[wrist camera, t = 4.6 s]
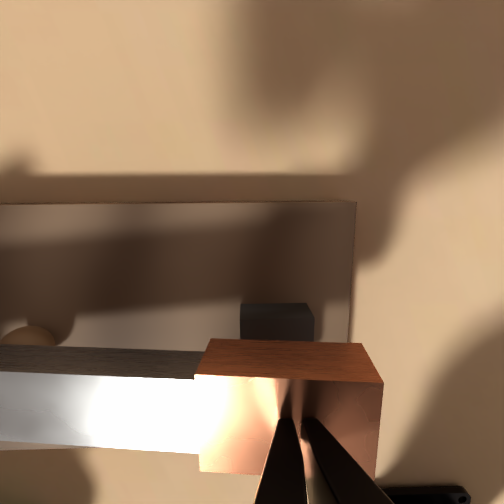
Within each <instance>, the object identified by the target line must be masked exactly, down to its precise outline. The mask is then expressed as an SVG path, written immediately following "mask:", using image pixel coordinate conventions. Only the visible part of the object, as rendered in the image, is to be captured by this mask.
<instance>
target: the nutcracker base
mask: <svg viewBox="0 0 504 504" xmlns="http://www.w3.org/2000/svg"><path fill="white" fill-rule="evenodd" d="M356 205H357V202H351V201H264V202H145V203H26V204H0V344H16V345H43V346H71V347H98V348H125V349H153V350H180V351H205V350H206V348H207V345H208V343H209V341H210V339H211V338H218V339H248V340H279V341H309V342H339V343H347V339H348V324H349V309H350V294H351V279H352V264H353V249H354V234H355V220H356ZM67 448H102V447H90V446H75V445H59V444H44V443H29V442H13V441H0V450H31V449H67Z"/></svg>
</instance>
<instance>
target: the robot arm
mask: <svg viewBox="0 0 504 504" xmlns="http://www.w3.org/2000/svg"><path fill="white" fill-rule="evenodd" d="M305 479H306V481H305ZM306 486H307V492H308V499H309V504H470V501H471V497H470V495H469V494H468V492H467V491H466V490H465V488H464V487H462V486H443V487H412V488H380V487H379V486H378V485H377V484H376V483H375V482H374V481H373V479H372V478H371V477H370V476H369V475H368V474H367V473H366V472H365V471H364V469H363V468H362V467H361V466H360V465H359V464H358V463H357V462H356V461H355V460H354V458H353V457H352V456H351V455H350V454H349V453H348V452H347V451H346V450H345V448H344V447H343V446H342V445H341V444H340V443H339V442H338V441H337V440H336V438H335V437H334V436H333V435H332V434H331V433H330V432H329V431H328V430H327V428H326V427H325V426H324V425H323V424H322V423H321V422H320V421H319V420H318V419H317V418H303V419H302V425H301V447H300V443H299V439H298V436H297V432H296V428H295V424H294V421H293V419H291V418H282V419H279V420H278V421H277V425H276V428H275V432H274V435H273V438H272V442H271V445H270V449H269V452H268V455H267V459H266V462H265V466H264V469H263V472H262V476H261V479H260V482H259V486H258V489H257V493H256V496H255V499H254V503H253V504H307V493H306Z"/></svg>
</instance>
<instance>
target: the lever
mask: <svg viewBox="0 0 504 504" xmlns="http://www.w3.org/2000/svg"><path fill="white" fill-rule="evenodd" d="M383 387H384V382H383V380H382V379H381V377H380V375H379V373H378V372H377V370H376V368H375V366H374V365H373V363H372V361H371V359H370V357H369V356H368V354H367V352H366V350H365V349H364V347H363V345H362V343H339V342H309V341H279V340H248V339H218V338H211V339H210V341H209V343H208V345H207V348H206V350H205V351H180V350H153V349H125V348H98V347H71V346H43V345H16V344H0V441H13V442H29V443H44V444H59V445H75V446H90V447H106V448H121V449H137V450H152V451H168V452H183V453H198V454H199V463H200V471H206V472H221V473H235V474H249V475H262V472H263V469H264V466H265V462H266V459H267V455H268V452H269V449H270V445H271V442H272V438H273V435H274V432H275V428H276V425H277V421H278V420H279V419H282V418H291V419H293V421H294V424H295V428H296V432H297V436H298V439H299V443H300V447H301V425H302V419H303V418H317V419H318V420H319V421H320V422H321V423H322V424H323V425H324V426H325V427H326V428H327V430H328V431H329V432H330V433H331V434H332V435H333V436H334V437H335V438H336V440H337V441H338V442H339V443H340V444H341V445H342V446H343V447H344V448H345V450H346V451H347V452H348V453H349V454H350V455H351V456H352V457H353V458H354V460H355V461H356V462H357V463H358V464H359V465H360V466H361V467H362V468H363V469H364V471H365V472H366V473H367V474H368V475H369V476H370V477H371V478H372V479H373V481H374V478H375V468H376V458H377V448H378V438H379V427H380V417H381V407H382V397H383Z"/></svg>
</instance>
